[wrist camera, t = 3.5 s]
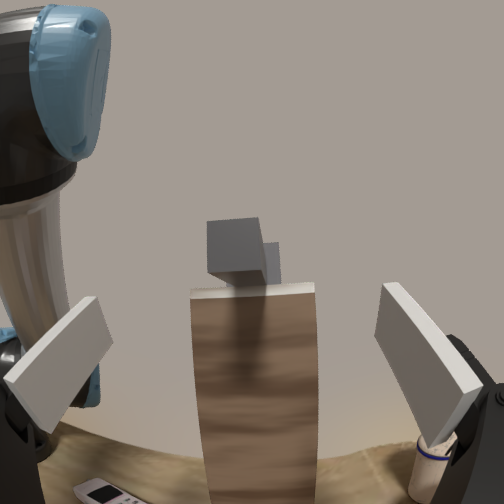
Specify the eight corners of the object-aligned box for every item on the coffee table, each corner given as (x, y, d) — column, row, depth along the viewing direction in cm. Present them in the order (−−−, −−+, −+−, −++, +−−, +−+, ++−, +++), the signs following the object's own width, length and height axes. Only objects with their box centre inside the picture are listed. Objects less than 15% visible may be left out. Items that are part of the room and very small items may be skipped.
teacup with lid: (477, 486, 13) (500, 414, 16) (422, 516, 13) (446, 445, 16) (436, 456, 25) (448, 395, 27) (388, 475, 25) (398, 412, 27)
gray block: (288, 267, 15) (281, 184, 16) (182, 273, 15) (183, 193, 16) (280, 290, 35) (277, 252, 36) (234, 292, 36) (233, 255, 37)
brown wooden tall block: (312, 518, 19) (313, 281, 25) (214, 519, 20) (189, 288, 26) (306, 479, 29) (303, 288, 35) (226, 480, 30) (212, 293, 36)
